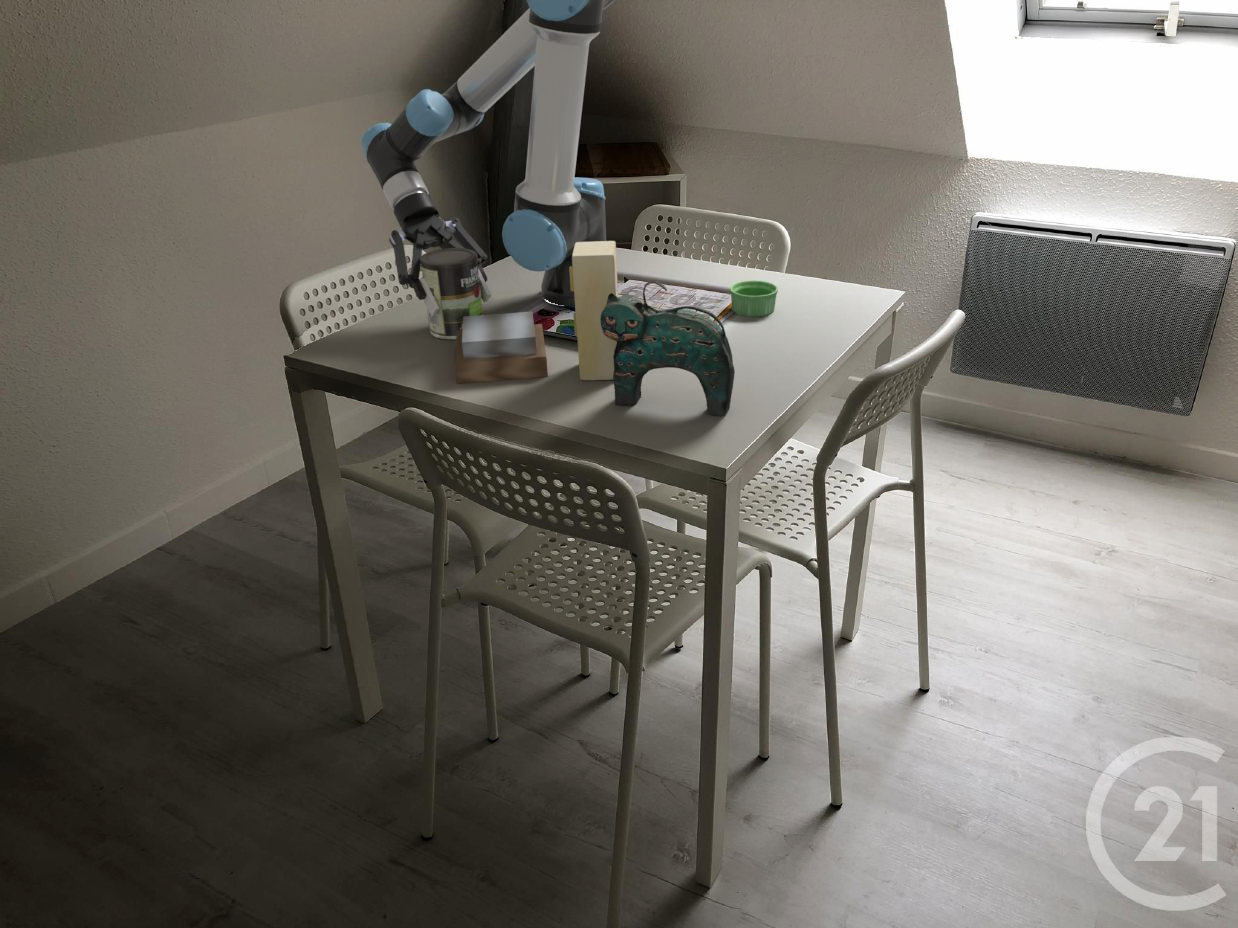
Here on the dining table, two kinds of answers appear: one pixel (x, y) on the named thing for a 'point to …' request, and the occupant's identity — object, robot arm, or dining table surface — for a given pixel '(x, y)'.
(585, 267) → the cream tall block
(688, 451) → the dining table surface
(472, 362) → the tower base
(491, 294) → the robot arm
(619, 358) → the ceramic cat
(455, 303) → the coffee can
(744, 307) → the ramekin
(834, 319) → the dining table surface
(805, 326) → the dining table surface
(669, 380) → the dining table surface
